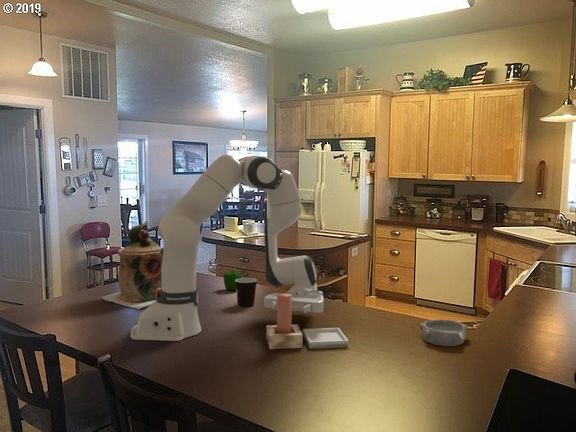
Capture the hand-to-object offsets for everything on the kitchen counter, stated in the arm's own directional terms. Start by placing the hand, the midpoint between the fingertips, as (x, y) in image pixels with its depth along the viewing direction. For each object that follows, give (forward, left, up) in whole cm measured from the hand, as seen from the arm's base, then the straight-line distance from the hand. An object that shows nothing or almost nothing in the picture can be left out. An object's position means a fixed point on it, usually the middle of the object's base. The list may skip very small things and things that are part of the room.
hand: (288, 309), depth 152 cm
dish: (+49, -8, -9) cm, 50 cm away
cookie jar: (-53, +51, -9) cm, 74 cm away
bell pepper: (-16, +62, -9) cm, 64 cm away
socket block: (-2, -5, -9) cm, 11 cm away
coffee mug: (-11, +39, -9) cm, 41 cm away
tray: (+11, -5, -9) cm, 15 cm away
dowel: (-2, -5, -9) cm, 11 cm away
